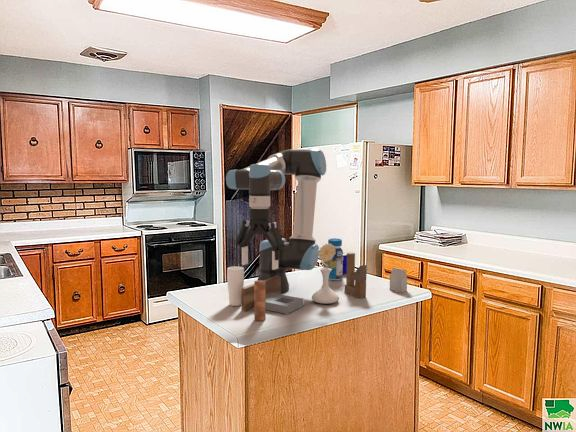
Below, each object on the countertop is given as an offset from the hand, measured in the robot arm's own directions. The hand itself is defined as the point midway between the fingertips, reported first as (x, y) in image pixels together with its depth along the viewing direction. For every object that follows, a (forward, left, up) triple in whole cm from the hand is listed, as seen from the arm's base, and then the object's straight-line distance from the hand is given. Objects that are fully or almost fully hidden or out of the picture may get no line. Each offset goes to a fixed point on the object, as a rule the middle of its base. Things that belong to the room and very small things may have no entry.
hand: (259, 266), depth 161 cm
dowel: (0, 0, -20) cm, 20 cm away
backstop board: (-11, +16, -20) cm, 28 cm away
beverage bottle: (-6, +70, -20) cm, 73 cm away
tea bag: (+28, +67, -20) cm, 75 cm away
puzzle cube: (-12, +83, -20) cm, 86 cm away
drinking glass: (-19, +9, -20) cm, 29 cm away
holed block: (-3, +16, -20) cm, 25 cm away
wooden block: (+15, +49, -20) cm, 55 cm away
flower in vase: (+10, +32, -20) cm, 39 cm away
